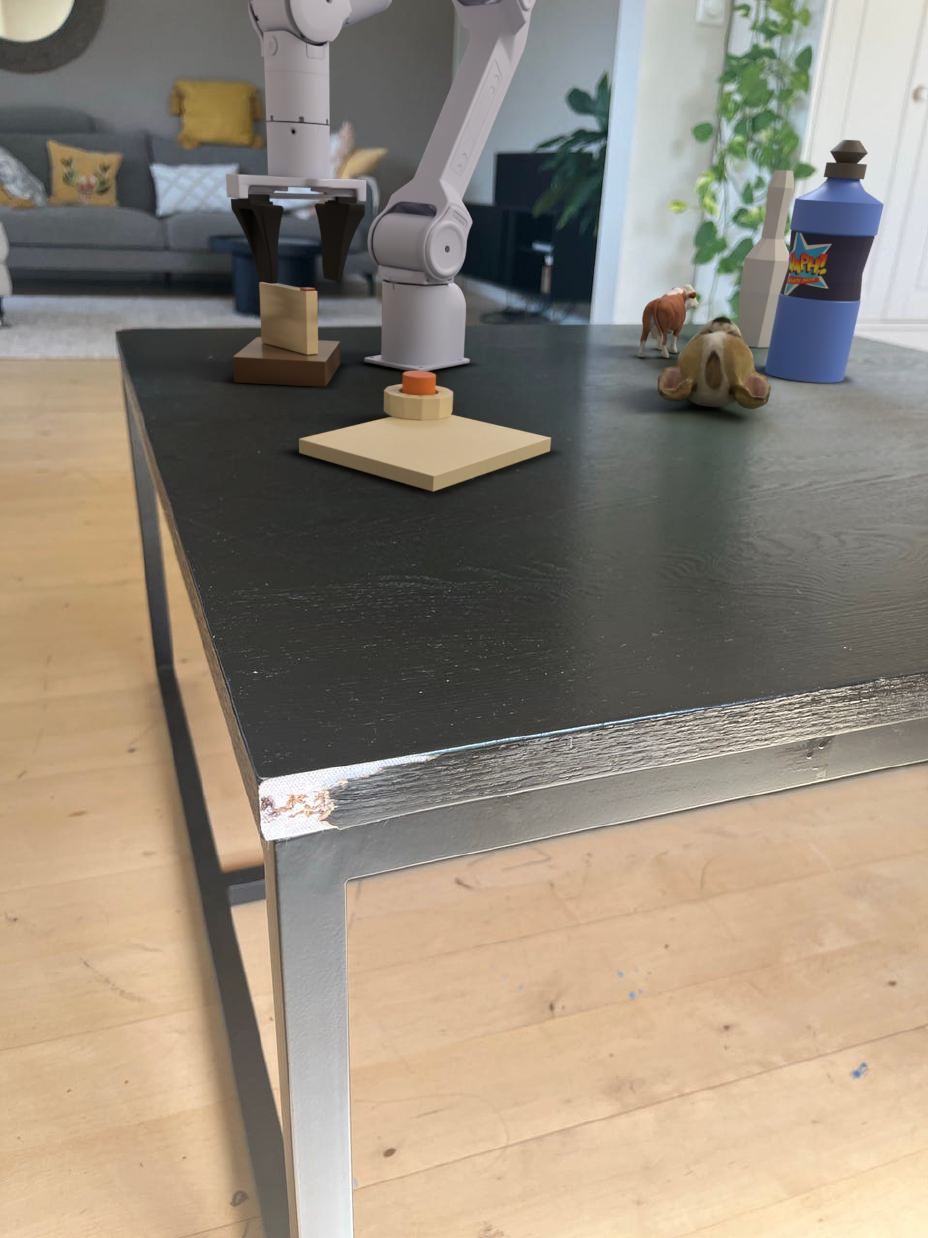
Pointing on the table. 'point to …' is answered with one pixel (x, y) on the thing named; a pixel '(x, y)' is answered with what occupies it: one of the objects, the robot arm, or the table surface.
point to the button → (418, 383)
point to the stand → (286, 364)
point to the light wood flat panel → (289, 317)
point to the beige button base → (424, 443)
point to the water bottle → (825, 273)
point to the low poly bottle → (766, 266)
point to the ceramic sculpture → (715, 370)
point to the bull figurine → (667, 318)
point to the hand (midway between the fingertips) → (301, 281)
